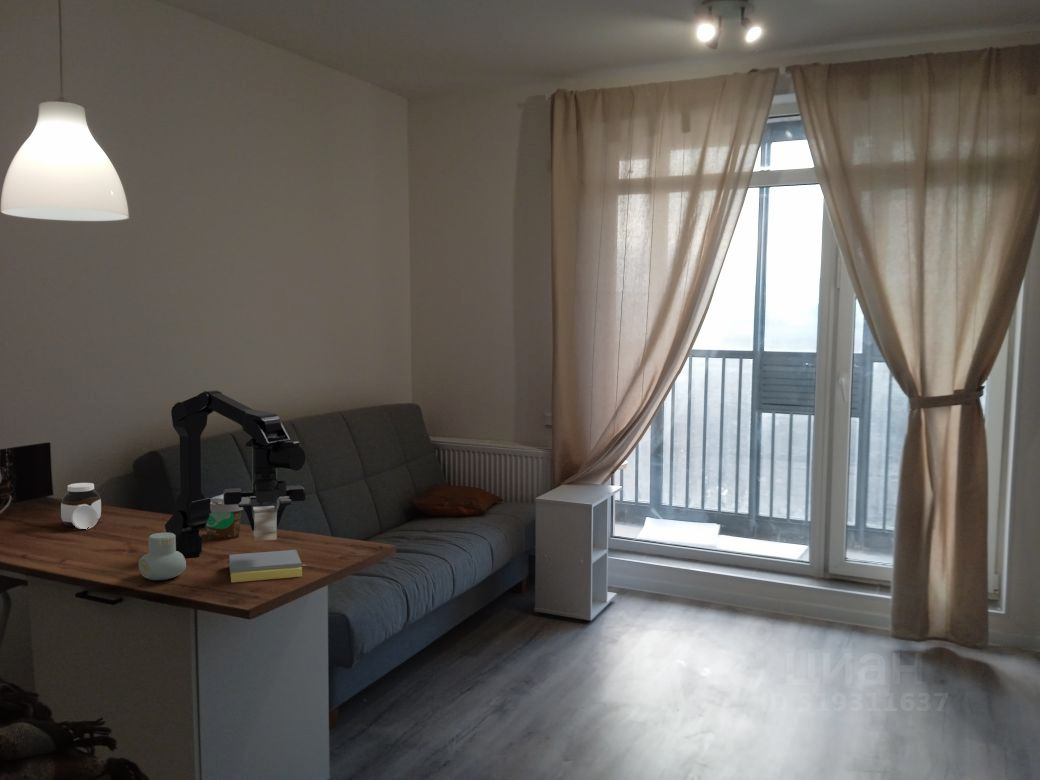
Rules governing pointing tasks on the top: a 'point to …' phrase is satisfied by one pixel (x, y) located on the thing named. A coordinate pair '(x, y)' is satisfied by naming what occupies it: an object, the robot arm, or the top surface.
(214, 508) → the food container
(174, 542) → the air freshener
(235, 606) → the top surface
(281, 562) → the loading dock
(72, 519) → the spread jar
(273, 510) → the white milk carton
